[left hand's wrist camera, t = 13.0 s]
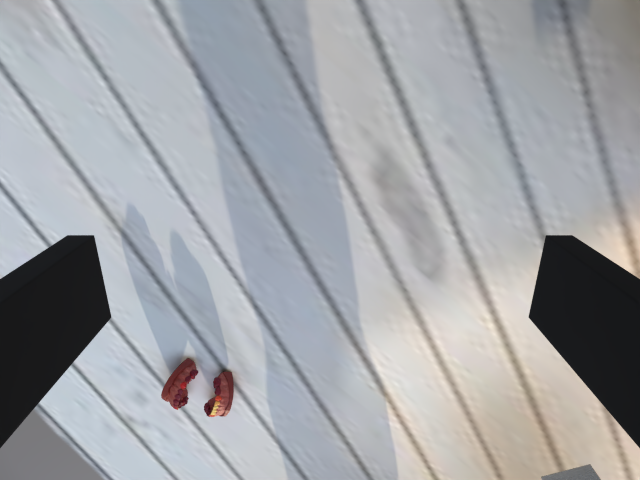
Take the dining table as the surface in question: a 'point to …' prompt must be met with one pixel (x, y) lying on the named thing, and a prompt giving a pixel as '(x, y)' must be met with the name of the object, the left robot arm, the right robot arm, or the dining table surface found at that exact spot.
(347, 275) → the dining table surface
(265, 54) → the dining table surface
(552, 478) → the bar
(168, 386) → the dental model
